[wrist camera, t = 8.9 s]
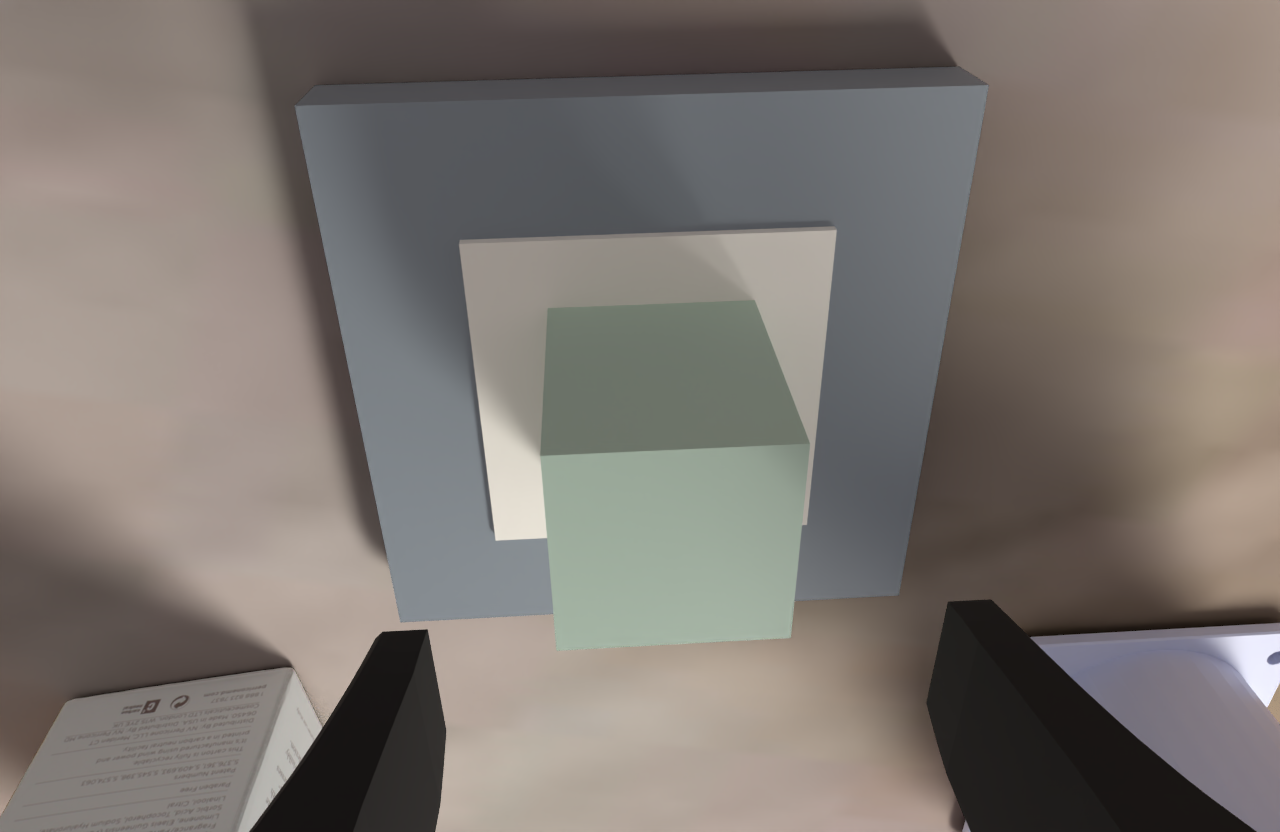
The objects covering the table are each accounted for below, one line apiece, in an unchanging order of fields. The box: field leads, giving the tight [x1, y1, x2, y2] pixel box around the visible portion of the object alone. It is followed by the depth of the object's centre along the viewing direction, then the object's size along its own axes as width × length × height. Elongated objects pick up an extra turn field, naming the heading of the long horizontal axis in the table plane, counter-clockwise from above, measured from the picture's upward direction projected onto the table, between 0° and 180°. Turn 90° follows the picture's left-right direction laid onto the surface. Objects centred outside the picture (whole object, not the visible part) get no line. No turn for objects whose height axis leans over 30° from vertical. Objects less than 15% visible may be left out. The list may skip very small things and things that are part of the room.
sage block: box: [540, 300, 810, 651], centre depth 17 cm, size 4×4×5 cm
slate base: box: [295, 67, 989, 622], centre depth 20 cm, size 12×12×2 cm
